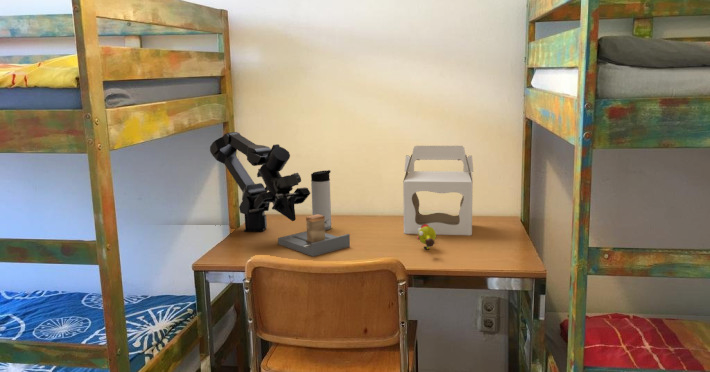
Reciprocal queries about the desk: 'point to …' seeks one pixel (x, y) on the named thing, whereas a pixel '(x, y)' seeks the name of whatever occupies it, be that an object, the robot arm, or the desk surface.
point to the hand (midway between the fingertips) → (294, 220)
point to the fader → (315, 228)
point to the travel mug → (321, 196)
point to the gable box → (438, 191)
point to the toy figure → (426, 236)
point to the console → (315, 248)
